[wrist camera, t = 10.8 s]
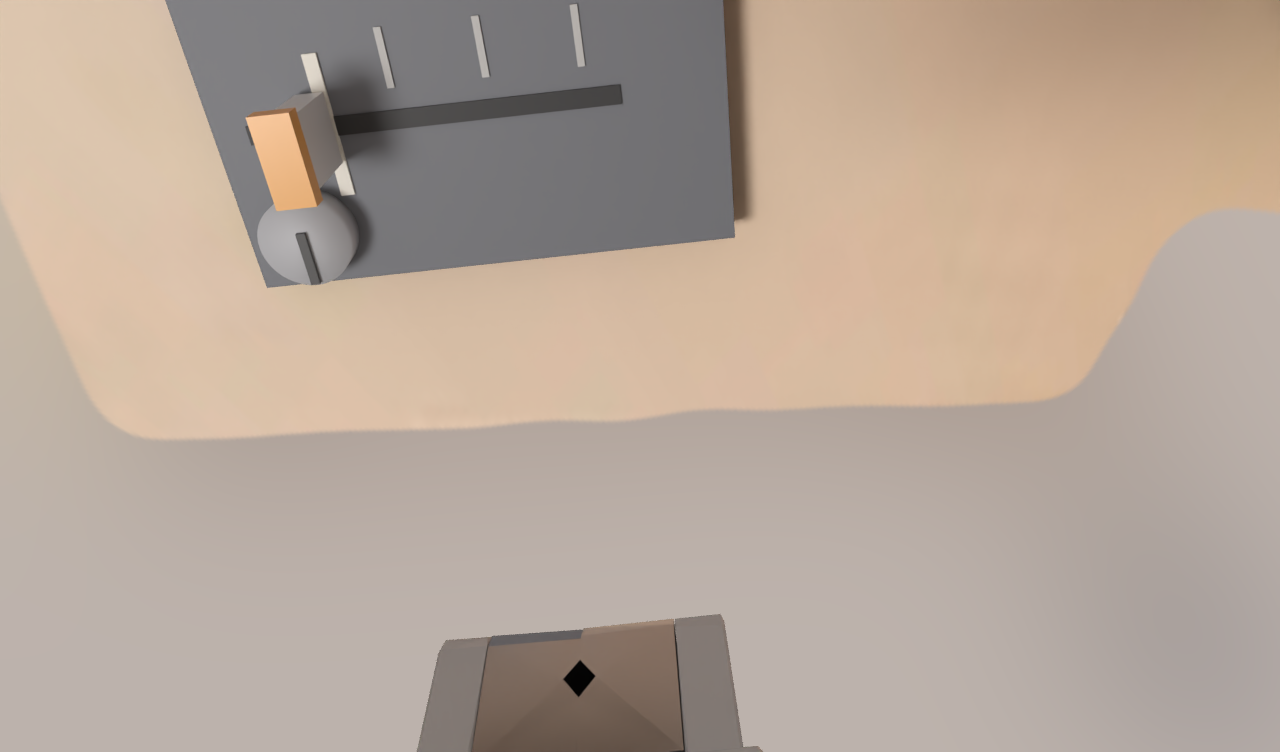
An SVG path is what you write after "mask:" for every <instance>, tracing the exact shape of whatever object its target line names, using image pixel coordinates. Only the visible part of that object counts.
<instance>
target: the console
mask: <svg viewBox="0 0 1280 752" xmlns="http://www.w3.org/2000/svg"><path fill="white" fill-rule="evenodd" d="M165 1H166V4H167V7H168V9H169V12H170V15H171V18H172V21H173V24H174V26H175V29H176V32H177V35H178V38H179V40H180V43H181V46H182V49H183V52H184V55H185V57H186V60H187V63H188V66H189V69H190V71H191V74H192V77H193V80H194V83H195V86H196V88H197V91H198V94H199V97H200V100H201V103H202V105H203V108H204V111H205V114H206V117H207V119H208V122H209V125H210V128H211V131H212V134H213V136H214V139H215V142H216V145H217V148H218V150H219V153H220V156H221V159H222V162H223V165H224V167H225V170H226V173H227V176H228V179H229V182H230V184H231V187H232V190H233V193H234V196H235V198H236V201H237V204H238V207H239V210H240V213H241V215H242V218H243V221H244V224H245V227H246V229H247V232H248V235H249V238H250V241H251V244H252V246H253V249H254V252H255V255H256V258H257V261H258V263H259V266H260V269H261V272H262V275H263V277H264V280H265V283H266V286H267V288H270V287H279V286H288V285H297V284H306V285H319V284H324V283H327V282H330V281H335V280H344V279H353V278H363V277H372V276H381V275H390V274H400V273H409V272H418V271H428V270H437V269H446V268H456V267H465V266H474V265H484V264H493V263H502V262H511V261H521V260H530V259H539V258H549V257H558V256H567V255H577V254H586V253H595V252H605V251H614V250H623V249H632V248H642V247H651V246H660V245H670V244H679V243H688V242H698V241H707V240H716V239H725V238H735V230H734V210H733V190H732V169H731V149H730V129H729V109H728V89H727V69H726V49H725V29H724V8H723V0H165ZM316 92H323V94H324V98H325V101H326V105H327V108H328V112H329V115H330V119H331V122H332V126H333V129H334V133H335V137H336V140H337V144H338V147H339V151H340V154H341V158H342V161H343V163H342V164H341V165H340V166H339V168H338V169H337V170H336V171H335V172H334V173H333V174H332V175H331V177H330V178H329V179H328V180H327V181H326V182H325V183H324V184H323V186H322V187H321V188H320V191H321V194H322V198H323V201H322V202H321V203H320V204H319V205H318V206H317V207H310V208H301V209H292V210H283V211H276V208H275V205H274V202H273V199H272V196H271V193H270V190H269V187H268V184H267V181H266V178H265V175H264V172H263V169H262V166H261V163H260V160H259V157H258V154H257V151H256V148H255V145H254V142H253V139H252V136H251V133H250V130H249V127H248V124H247V121H246V117H247V116H249V115H250V114H251V113H253V112H259V111H268V110H275V109H276V108H277V107H279V106H280V105H282V104H283V103H284V102H286V101H287V100H288V99H290V98H291V97H292V96H294V95H299V94H307V93H316Z"/></svg>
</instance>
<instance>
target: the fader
mask: <svg viewBox="0 0 1280 752" xmlns="http://www.w3.org/2000/svg"><path fill="white" fill-rule="evenodd" d="M246 121H247V124H248V127H249V130H250V133H251V136H252V139H253V142H254V145H255V148H256V151H257V154H258V157H259V160H260V163H261V166H262V169H263V172H264V175H265V178H266V181H267V184H268V187H269V190H270V193H271V196H272V199H273V202H274V205H275V208H276V211H283V210H292V209H301V208H310V207H317V206H318V205H319V204H320V203H321V202H322V201H323V198H322V194H321V191H320V188H321V187H322V186H323V184H324V183H325V182H326V181H327V180H328V179H329V178H330V177H331V175H332V174H333V173H334V172H335V171H336V170H337V169H338V168H339V166H340V165H341V164H342V163H343V161H342V158H341V154H340V151H339V147H338V144H337V140H336V137H335V133H334V129H333V126H332V122H331V119H330V115H329V112H328V108H327V105H326V101H325V98H324V94H323V92H316V93H307V94H299V95H294V96H292V97H291V98H290V99H288V100H287V101H286V102H284V103H283V104H282V105H280V106H279V107H277V108H276V109H275V110H268V111H259V112H253V113H251V114H250V115H249V116H247V117H246Z"/></svg>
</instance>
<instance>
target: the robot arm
mask: <svg viewBox="0 0 1280 752" xmlns="http://www.w3.org/2000/svg"><path fill="white" fill-rule="evenodd" d="M675 630H676V633H675ZM676 641H677V642H676ZM417 752H763V751H762V750H761V749H760V748H759V747H758V746H753V747H743V742H742V736H741V729H740V722H739V716H738V709H737V703H736V696H735V690H734V683H733V677H732V670H731V663H730V656H729V650H728V643H727V637H726V630H725V624H724V620H723V618H722V616H721V615H720V614H718V615H707V616H698V617H689V618H679V619H675V625H674V619H667V620H658V621H649V622H640V623H631V624H622V625H612V626H603V627H593V628H584V629H583V630H571V631H558V632H544V633H529V634H515V635H501V636H492V637H485V638H471V639H457V640H446V641H445V643H444V645H443V646H442V648H441V650H440V652H439V653H438V658H437V662H436V667H435V671H434V676H433V680H432V685H431V689H430V694H429V699H428V704H427V708H426V712H425V717H424V722H423V726H422V731H421V735H420V740H419V744H418V749H417Z"/></svg>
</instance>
